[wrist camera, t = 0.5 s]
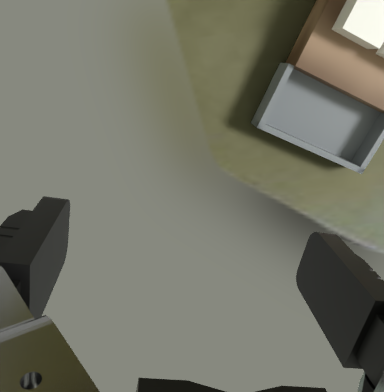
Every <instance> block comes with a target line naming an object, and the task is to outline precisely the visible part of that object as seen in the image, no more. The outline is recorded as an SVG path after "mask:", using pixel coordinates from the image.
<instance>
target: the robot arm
mask: <svg viewBox="0 0 384 392" xmlns="http://www.w3.org/2000/svg"><path fill="white" fill-rule="evenodd" d="M69 216H70V201H69V200H68V199H60V198H52V197H43V198H42V199H41V200H40V202H39V203H38V204H37V206H36V207H35V208H34V210H33V211H29V210H21V211H19V212H17V213H15V214H13V215H11V216H9V217H8V218H7V219H6V220H5V221H4V222H3V223H2V224H1V226H0V392H100V391H99V390H98V388H97V387H96V385H95V384H94V382H93V381H92V379H91V378H90V376H89V375H88V373H87V372H86V370H85V369H84V367H83V366H82V364H81V363H80V361H79V360H78V358H77V357H76V355H75V354H74V352H73V351H72V349H71V348H70V346H69V345H68V343H67V342H66V340H65V339H64V337H63V336H62V334H61V333H60V331H59V330H58V328H57V327H56V325H55V324H54V322H53V321H52V319H51V318H50V317H48V316H46V315H45V316H42V314H43V311H44V309H45V307H46V304H47V302H48V300H49V297H50V295H51V292H52V290H53V288H54V285H55V283H56V281H57V278H58V276H59V273H60V271H61V269H62V267H63V264H64V261H65V258H66V253H67V247H68V232H69ZM296 281H297V286H298V289H299V291H300V292H301V294H302V296H303V298H304V299H305V301H306V303H307V304H308V306H309V308H310V310H311V312H312V313H313V315H314V317H315V318H316V320H317V322H318V324H319V325H320V327H321V329H322V331H323V332H324V334H325V336H326V338H327V339H328V341H329V343H330V345H331V346H332V348H333V350H334V351H335V353H336V355H337V357H338V358H339V360H340V362H341V364H342V366H343V367H344V368H358V369H363V370H364V373H363V375H362V377H361V379H360V382H359V387H358V392H384V281H383V280H381V279H380V276H379V275H377V273H376V272H375V271H373V269H372V268H371V267H370V266H369V265H368V264H367V263H366V262H365V261H364V260H363V259H362V258H360V257H359V256H357V255H356V254H354V252H353V251H352V250H351V249H350V248H349V247H348V246H347V245H346V244H345V243H344V242H343V241H342V240H341V238H340V237H339V236H337V235H335V234H327V233H319V232H314V233H312V234H311V235H310V237H309V239H308V242H307V245H306V248H305V250H304V253H303V256H302V259H301V261H300V265H299V267H298V270H297V275H296ZM41 316H42V317H41ZM136 392H225V391H221V390H218V389H215V388H211V387H208V386H204V385H201V384H197V383H194V382H191V381H185V380H167V379H149V378H139V379H138V385H137V390H136ZM257 392H327V391H326V389H325V388H311V387H292V386H280V387H275V388H270V389H266V390H261V391H257Z"/></svg>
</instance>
